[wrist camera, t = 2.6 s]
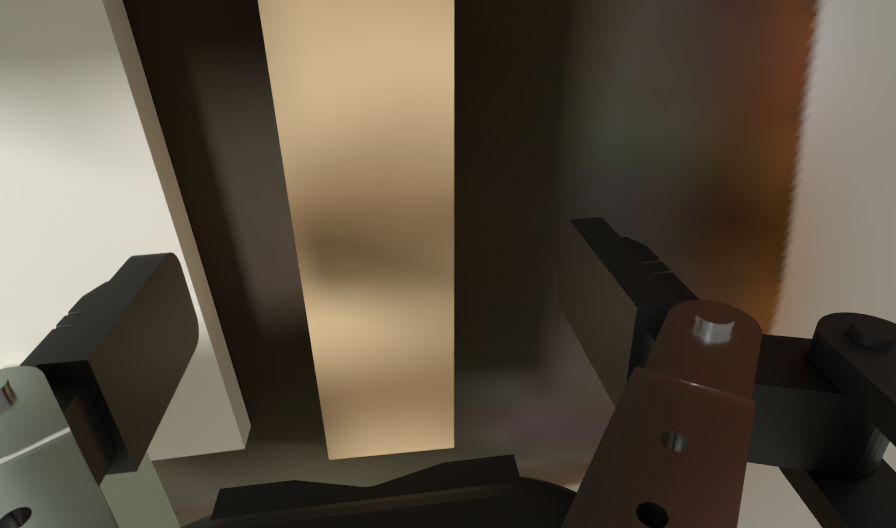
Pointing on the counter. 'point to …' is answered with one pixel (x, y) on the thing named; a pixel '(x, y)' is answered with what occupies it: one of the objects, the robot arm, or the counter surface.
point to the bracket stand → (99, 217)
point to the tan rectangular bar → (371, 210)
